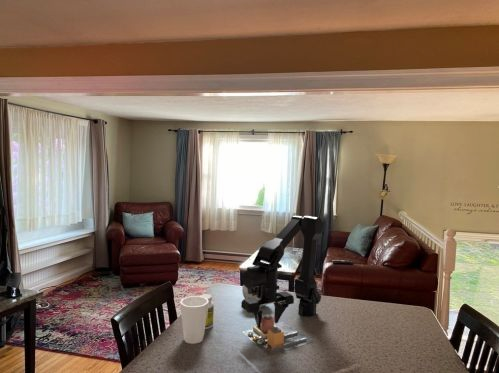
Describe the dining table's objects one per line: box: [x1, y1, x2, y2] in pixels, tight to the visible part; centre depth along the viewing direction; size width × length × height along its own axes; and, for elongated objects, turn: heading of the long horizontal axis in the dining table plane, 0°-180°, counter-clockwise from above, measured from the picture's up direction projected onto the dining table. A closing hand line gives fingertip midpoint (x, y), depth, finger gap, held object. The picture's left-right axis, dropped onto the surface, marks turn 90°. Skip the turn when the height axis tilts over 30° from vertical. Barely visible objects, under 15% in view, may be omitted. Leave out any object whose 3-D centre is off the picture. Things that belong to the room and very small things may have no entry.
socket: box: [252, 325, 276, 339], centre depth 123 cm, size 7×7×1 cm
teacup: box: [241, 284, 265, 309], centre depth 146 cm, size 15×12×8 cm
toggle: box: [267, 327, 284, 347], centre depth 115 cm, size 4×4×5 cm
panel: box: [241, 320, 314, 357], centre depth 120 cm, size 18×17×2 cm
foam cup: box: [179, 295, 209, 344], centre depth 118 cm, size 10×9×13 cm
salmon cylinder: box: [261, 314, 275, 334], centre depth 123 cm, size 4×4×6 cm
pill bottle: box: [199, 293, 215, 330], centre depth 128 cm, size 6×6×11 cm
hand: (267, 325), depth 123 cm, fingers open, 7 cm apart
